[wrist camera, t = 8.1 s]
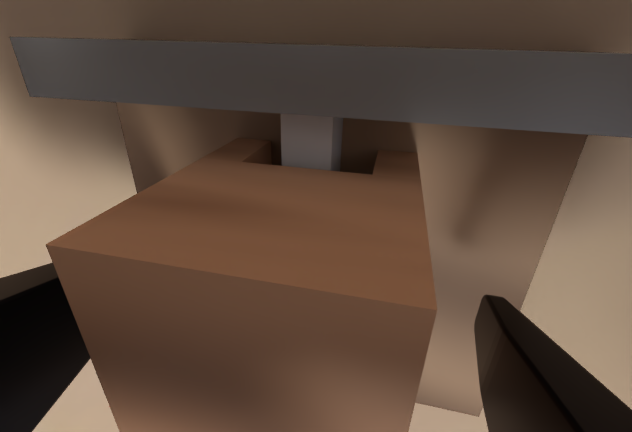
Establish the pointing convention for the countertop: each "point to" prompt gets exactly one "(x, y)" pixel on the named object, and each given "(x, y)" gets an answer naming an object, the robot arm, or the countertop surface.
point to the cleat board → (374, 141)
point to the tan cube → (257, 296)
